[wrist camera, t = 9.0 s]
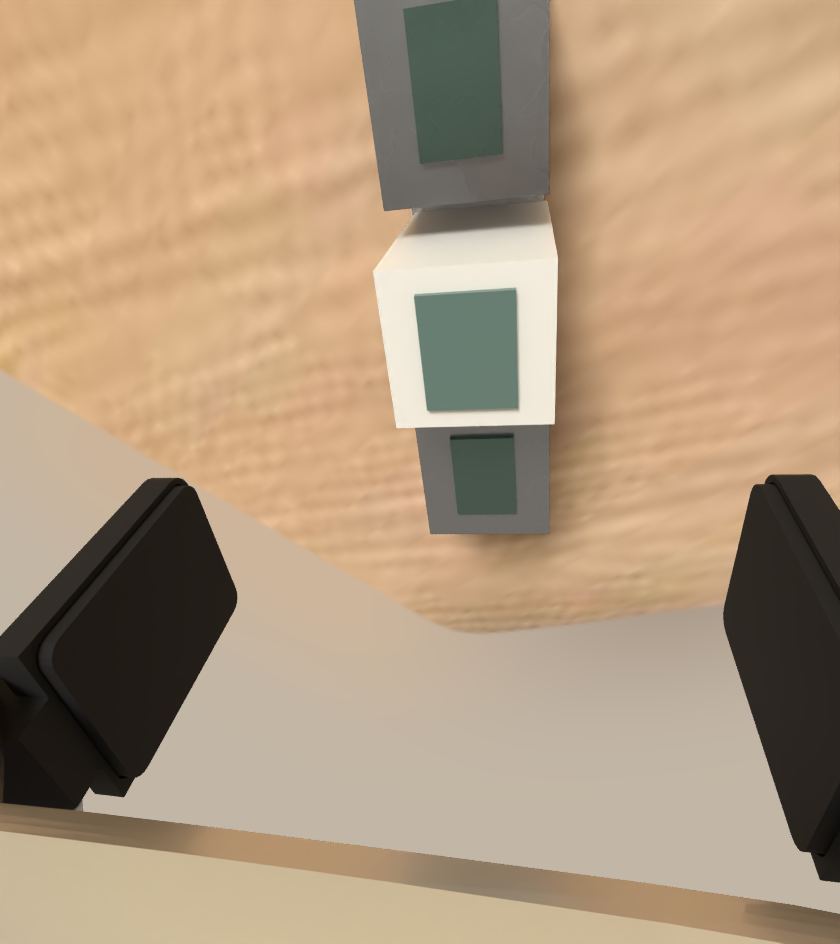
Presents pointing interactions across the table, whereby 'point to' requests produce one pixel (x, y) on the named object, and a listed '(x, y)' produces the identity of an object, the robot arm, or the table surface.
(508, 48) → the rail
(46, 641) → the robot arm
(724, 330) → the table surface
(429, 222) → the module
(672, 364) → the table surface
